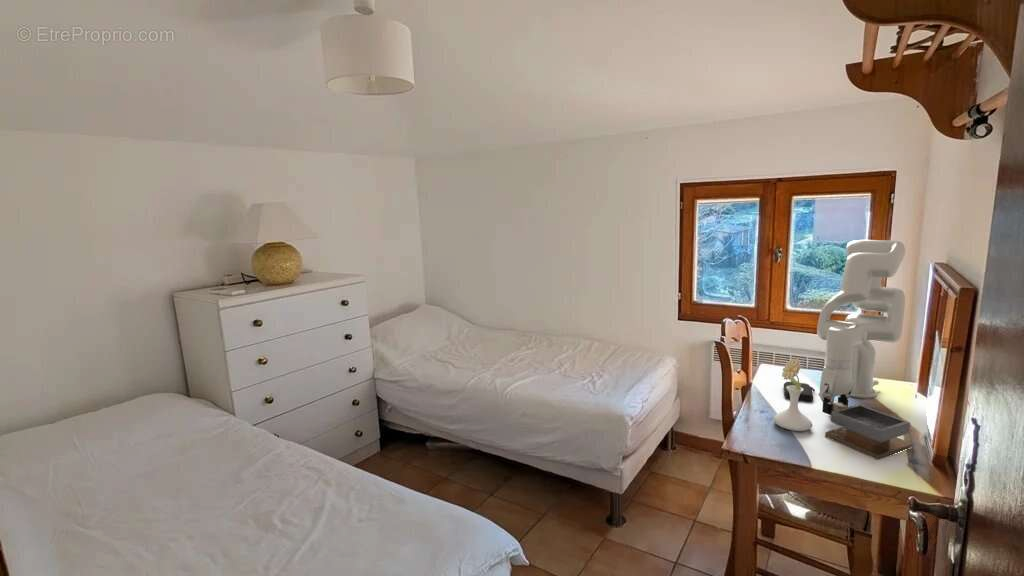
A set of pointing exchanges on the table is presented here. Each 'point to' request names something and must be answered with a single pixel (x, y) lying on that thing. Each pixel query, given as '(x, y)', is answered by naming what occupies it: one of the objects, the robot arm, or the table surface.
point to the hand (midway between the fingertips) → (834, 410)
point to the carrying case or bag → (804, 395)
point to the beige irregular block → (837, 405)
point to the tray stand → (869, 431)
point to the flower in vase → (793, 401)
